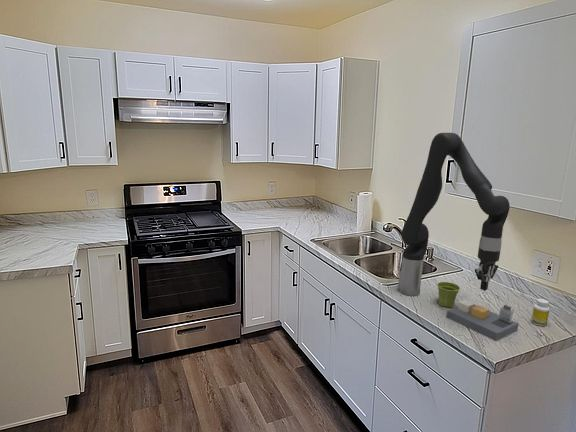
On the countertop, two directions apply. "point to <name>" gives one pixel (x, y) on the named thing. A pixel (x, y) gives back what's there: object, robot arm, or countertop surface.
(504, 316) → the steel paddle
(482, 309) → the amber button
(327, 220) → the countertop surface
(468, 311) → the ivory button
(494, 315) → the panel
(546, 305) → the supplement bottle
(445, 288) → the plant pot
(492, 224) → the robot arm
